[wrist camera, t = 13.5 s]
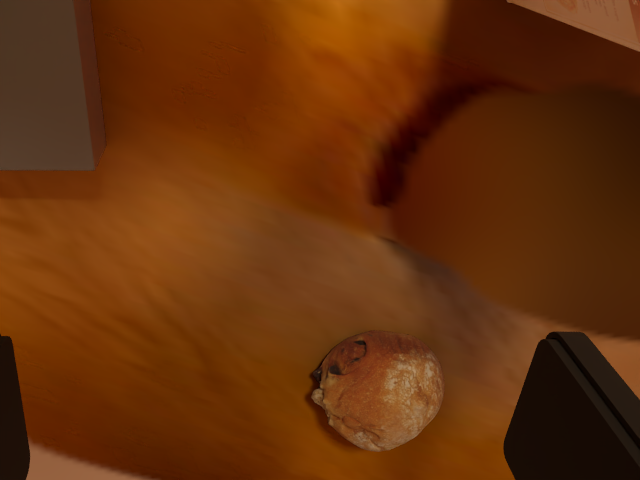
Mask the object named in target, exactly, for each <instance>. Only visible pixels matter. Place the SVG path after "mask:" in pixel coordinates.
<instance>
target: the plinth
mask: <svg viewBox="0 0 640 480" xmlns="http://www.w3.org/2000/svg"><path fill="white" fill-rule="evenodd" d="M105 148H106V136H105V127H104V119H103V110H102V101H101V93H100V84H99V75H98V66H97V58H96V49H95V40H94V32H93V23H92V14H91V6H90V0H0V170H81V171H95V169H96V167H97V165H98V163H99V161H100V158H101V156H102V154H103V152H104V150H105Z"/></svg>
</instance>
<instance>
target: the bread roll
mask: <svg viewBox="0 0 640 480" xmlns="http://www.w3.org/2000/svg"><path fill="white" fill-rule="evenodd" d="M313 376H314V377H315V378H316V381H317V382H319V383H320V386H319V387H318V389H317V390H314V391H313V394H312V397H311V398H312V399H313V400H314V402H315V403H316V404H318V405H320V406H322V408H323V409H325V413H326V415H327V416H328V425H330V426H332V427H333V428H334V429H335V430H336V431H337V432H338V433H339V434H340V435H341V436H343V437H344V438H345V439H346V440H348V441H349V442H351V443H352V444H354V445H356V446H358V447H360V448H362V449H365V450H370V451H385V450H390V449H392V448H395V447H397V446H400V445H402V444H404V443H406V442H408V441H409V440H411V439H413V438H414V437H416V436H417V435H418V434H419V433H420V432H421V431H422V430H423V428H424V427H425V426H427V424H428V423H429V422H430V421H431V420H432V419H433V418H434V417H435V415H436V414H437V412H438V410H439V408H440V406H441V403H442V400H443V396H444V376H443V371H442V368H441V365H440V363H439V361H438V359H437V357H436V356H435V354H434V353H433V352H432V351H431V350H430V349H429V348H428V347H427V346H426V345H425V344H424V343H423V342H422V341H420V340H419V339H417V338H415V337H413V336H410V335H404V334H402V333H394V332H385V331H369V332H365V333H361V334H358V335H355V336H352V337H349V338H347V339H345V340H344V341H342V342H341V343H339V344H338V345H337V346H335V347H334V348H333V349H332V350H331V351H330V352H329V354H328V355H327V357H326V358H325V360H324V361H323V363H322V365H321V366H320V368H319V369H317V370H315V371H314V372H313Z"/></svg>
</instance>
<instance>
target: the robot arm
mask: <svg viewBox="0 0 640 480" xmlns="http://www.w3.org/2000/svg"><path fill="white" fill-rule="evenodd" d="M504 455H505V459H506V461H507V463H508V465H509V467H510V469H511V471H512V473H513V475H514V477H515V480H640V400H639V399H638V397H637V396H636V395H635V394H634V393H633V391H632V390H631V389H630V388H629V386H628V385H627V384H626V383H625V382H624V380H623V379H622V378H621V377H620V376H619V374H618V373H617V372H616V371H615V369H614V368H613V367H612V366H611V365H610V363H609V362H608V361H607V360H606V358H605V357H604V356H603V355H602V354H601V352H600V351H599V350H598V349H597V348H596V346H595V345H594V344H593V343H592V341H591V340H590V339H589V338H588V337H587V336H586V335H585V334H584V333H581V332H551V333H549V334H548V335H547V337H546V339H543V340H541V341H540V342H539V343H538V345H537V348H536V351H535V353H534V356H533V359H532V362H531V365H530V368H529V371H528V374H527V376H526V379H525V382H524V385H523V388H522V391H521V394H520V396H519V399H518V402H517V405H516V408H515V411H514V414H513V417H512V419H511V422H510V425H509V428H508V431H507V434H506V437H505V440H504ZM29 463H30V450H29V444H28V437H27V431H26V425H25V418H24V412H23V406H22V400H21V393H20V387H19V381H18V375H17V368H16V362H15V356H14V349H13V343H12V340H11V338H10V337H9V336H1V335H0V480H26V477H27V474H28V469H29Z"/></svg>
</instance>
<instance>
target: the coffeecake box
mask: <svg viewBox="0 0 640 480" xmlns="http://www.w3.org/2000/svg"><path fill="white" fill-rule="evenodd" d="M507 2H508V3H514V4H516V5H519V6H521V7H524V8H527V9H530V10H532V11H535V12H537V13H540V14H543V15H545V16H548V17H550V18H553V19H555V20H558V21H561V22H563V23H566V24H568V25H571V26H574V27H576V28H579V29H582V30H584V31H587V32H589V33H592V34H594V35H597V36H599V37H602V38H605V39H607V40H610V41H613V42H615V43H618V44H620V45H623V46H626V47H628V48H631V49H633V50H636V51H639V52H640V0H507Z"/></svg>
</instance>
